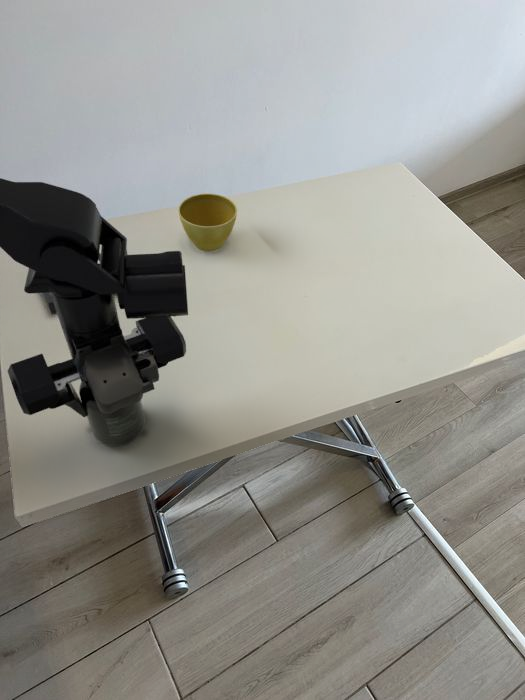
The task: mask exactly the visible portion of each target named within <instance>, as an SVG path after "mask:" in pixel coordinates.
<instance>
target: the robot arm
mask: <svg viewBox="0 0 525 700" xmlns="http://www.w3.org/2000/svg"><path fill="white" fill-rule="evenodd" d="M127 246H128V238H127V237H126V236H125V235H123V234H122V233H121V232H120V231H119V230H118V229H117V228H116V227H115V226H114V225H112V224H111V223H110V222H109V221H108V220H106V219H105V218H104V217H103V216H102V215H101V213H100V211H99V209H98V207H97V204H96V203H95V202H94V201H93V200H92V199H91V198H89V196H86V195H85V194H83V193H81V192H78V191H75V190H72V189H69V188H65V187H61V186H57V185H54V184H50V183H46V182H43V181H12V180H8V179H5V178H1V177H0V249H2V250H3V251H4V252H5V253H6V254H7V255H8V257H10V258H11V259H12V260H13V261H14V262H16V263H17V264H20V265H22V266H24V267H25V268H28V270H27V274H26V278H25V284H24V287H23V291H24V292H25V293H26V294H42V293H50V294H51V297H52V300H53V303H54V306H55V309H56V312H57V313H56V315H57V317H58V320H59V323H60V327H61V329H62V333H63V335H64V339H65V342H66V344H67V348H68V351H69V353H70V356H71V359H67V360H64V361H62V362H57V363H54V364H52V365H48V364H47V361H46V359H45V356H44V354H43V353H39V354H37V355H34V356H31V357H28V358H25V359H22V360H20V361H16V362H14V363H13V362H12V363H11V364H10V365H9V366H8V368H7V374H8V377H9V380H10V383H11V386H12V389H13V392H14V394H15V397H16V399H17V403H18V404H19V406H20V409H21V410H22V413H23V414H25V415H29V416H32V415H35V414H37V413H39V412H42V411H45V410H48V409H51V410H54V409H57V408H60V407H62V406H66V407H68V408H70V409H72V410H73V411H74V412H76V413H77V414H78V415H80V416H81V417H82V418H87V414H86V411H85V409H84V407H83V404H82V401H81V399H80V395H79V394H78V392H77V391H76V389H75V387H74V386H73V384H72V383H73V382H75V381H79V380H80V381H81V382H84V381H88V384H89V387H90V389H91V391H92V394H93V396H94V398H95V401H96V403H97V406H98V408H99V410H100V411H101V412H102V413H105V414H110V413H113V412H115V411H117V410H119V409H121V408H124V407H126V406H129V405H131V404H135V403H138V402H139V401H140V400H141V401H142V399H143V396H144V394H147V393H149V392H151V391H154V390H155V389H156V387H155V385H154V383H156V382H159V381H160V373H159V369H162V368H163V367H166V366H167V365H168V364H169V363H171V362H173V361H176V360H178V359H182V358H184V357H185V355H186V354H187V344H186V339H185V337H184V334H183V333H182V332H181V330H180V329H179V327H178V325H177V324H176V322H175V321H174V319H173V318H172V317H184V316H189V305H188V292H187V291H188V290H187V278H186V266H185V264H183V253H182V251H180V250H170V251H169V250H168V251H163V252H159V253H158V252H157V253H138V254H136V253H135V254H128V249H127V248H128V247H127ZM99 253H100V254H101V258H100V264H98V263H97V262H98V259H99ZM115 295H116V296H117V297H116V298H117V302H118V307H119V309H120V310H124V314H125V317H126V319H127V320H131V319H133V320H135V327H134V328H133V329H131V332H130V334H127V335H124V334H123V330H122V328H121V324H120V320H119V319H120V318H119V315H118V310H117V304H116V299H115ZM136 319H138V320H136Z"/></svg>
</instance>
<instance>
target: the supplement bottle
mask: <svg viewBox="0 0 525 700" xmlns="http://www.w3.org/2000/svg"><path fill="white" fill-rule="evenodd" d="M78 393H79V394H78V395H79V398H80V400H81V402H82V404H83V407H84V409H85V411H86V414H87V416H86V419H87V421H88V424H89V427H90V430H91V433H92V435H93V437H94V438H95V439H96V440H97V441H98V442H99V443H101V444H103V445H105V446H109V447H122V446H124V445H128V444H130V443H132V442H134V440H137V438H138V437H139V436H140V435H141V433H142V432H143V430H144V427H145V423H146V422H145V419H146V418H145V413H144V409H143V403H142V399H141V400H140V401H139V402H138V403H135V404H131V405H129V406H126V407H124V408H121V409H119V410H117V411H115V412H113V413H110V414H105V413H102V412H101V411H100V410H99V408H98V406H97V403H96V401H95V398H94V396H93V394H92V391H91V389H90V387H89V384H88V381H84V382H82V381H81V382H80V384H79V389H78Z"/></svg>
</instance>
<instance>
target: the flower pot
mask: <svg viewBox="0 0 525 700" xmlns="http://www.w3.org/2000/svg"><path fill="white" fill-rule="evenodd" d="M237 215H238V208H237V205H236V204H235V202H234V201H232V200H231V199H230V198H228V197H226V196H224V195H220V194H216V193H199V194H195V195H194V194H193V195H191V196H189V197H187V198H185V199H184V200H183V201H182V202H181V203H180V204H179V206H178V217H179V220H180V223H181V225H182V228H183V230H184V233H185V234H186V236H187V238H188V239H189V240H190V241H191V243H192V244H193V245H194V247H196V248H197V249H198V250H200V251H202V252H203V251H204V252H215V251H217V250H219V249H221V248H222V247H223V245H224V244H225V243H226V241H227V240H228V239H229V237H230V235H231V234H232V232H233V229H234V226H235V224H236V219H237Z"/></svg>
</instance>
